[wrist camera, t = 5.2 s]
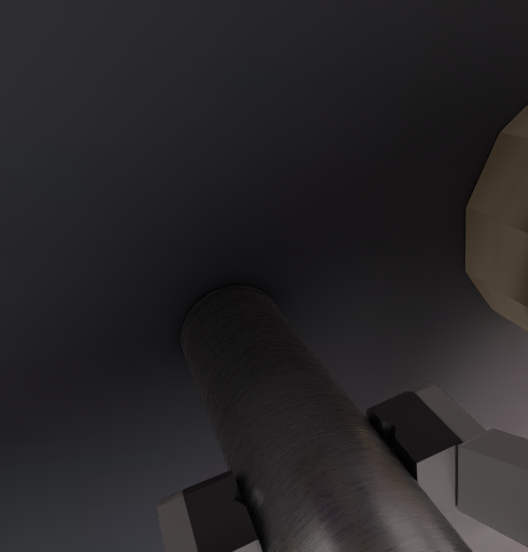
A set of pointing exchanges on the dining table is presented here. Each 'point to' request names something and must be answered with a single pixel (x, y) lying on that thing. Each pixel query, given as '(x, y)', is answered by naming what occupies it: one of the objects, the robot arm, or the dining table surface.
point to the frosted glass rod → (301, 438)
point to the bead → (502, 225)
